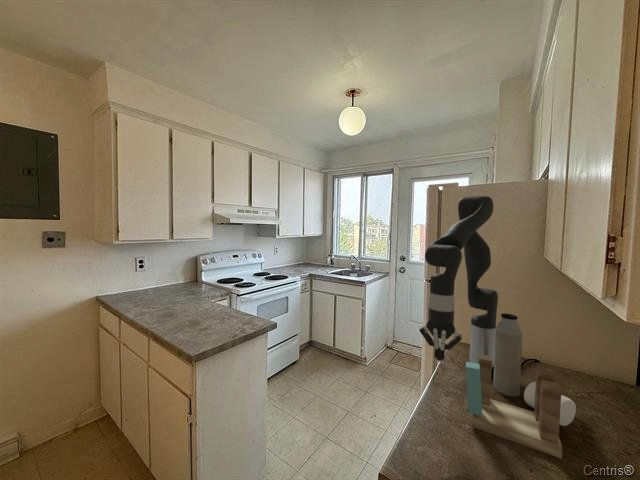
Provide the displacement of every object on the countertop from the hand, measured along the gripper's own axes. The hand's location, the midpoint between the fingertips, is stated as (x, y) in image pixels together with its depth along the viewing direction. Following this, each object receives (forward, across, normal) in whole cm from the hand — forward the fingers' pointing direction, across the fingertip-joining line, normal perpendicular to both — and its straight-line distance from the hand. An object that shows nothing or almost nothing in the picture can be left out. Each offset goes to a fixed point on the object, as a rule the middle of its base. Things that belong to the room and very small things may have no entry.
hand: (439, 359), depth 86 cm
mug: (+17, -32, -18) cm, 40 cm away
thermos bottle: (+17, -20, -26) cm, 36 cm away
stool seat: (+17, -20, -4) cm, 26 cm away
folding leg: (+14, -11, 0) cm, 17 cm away
